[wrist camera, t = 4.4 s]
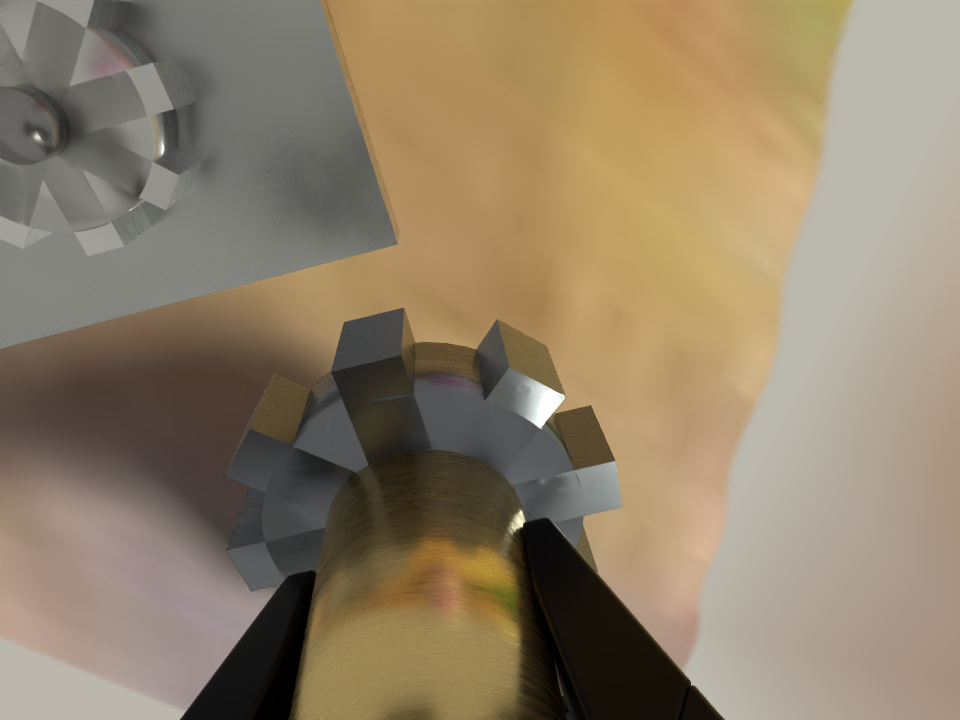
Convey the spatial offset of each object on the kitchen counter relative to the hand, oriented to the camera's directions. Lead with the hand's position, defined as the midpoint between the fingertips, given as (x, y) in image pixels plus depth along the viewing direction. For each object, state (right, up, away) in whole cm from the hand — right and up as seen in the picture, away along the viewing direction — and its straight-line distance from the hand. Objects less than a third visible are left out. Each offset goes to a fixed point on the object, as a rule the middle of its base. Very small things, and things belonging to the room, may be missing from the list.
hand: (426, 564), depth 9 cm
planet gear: (0, +1, +2) cm, 2 cm away
